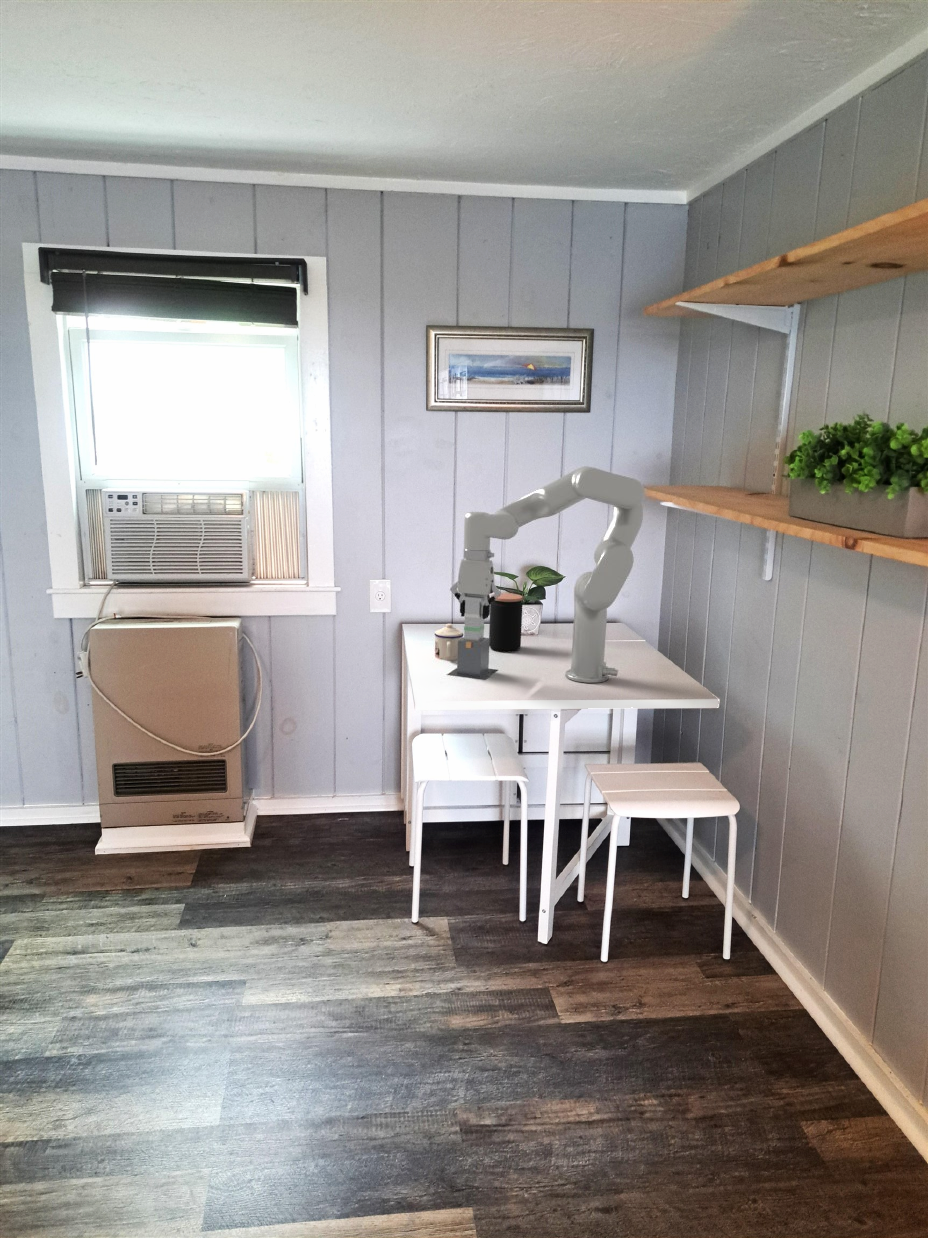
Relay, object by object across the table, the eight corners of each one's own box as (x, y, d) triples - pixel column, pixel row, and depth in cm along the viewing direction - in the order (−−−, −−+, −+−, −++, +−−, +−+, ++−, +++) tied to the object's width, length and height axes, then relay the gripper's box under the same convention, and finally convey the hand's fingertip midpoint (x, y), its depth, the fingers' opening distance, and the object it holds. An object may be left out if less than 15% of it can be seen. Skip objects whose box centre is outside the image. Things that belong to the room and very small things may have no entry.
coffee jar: (521, 645, 286) (523, 593, 283) (519, 653, 276) (522, 599, 272) (489, 644, 287) (491, 592, 284) (487, 651, 277) (489, 598, 273)
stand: (498, 673, 252) (499, 637, 249) (485, 684, 241) (486, 646, 238) (461, 668, 256) (462, 633, 253) (446, 678, 245) (447, 641, 242)
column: (486, 651, 248) (488, 595, 245) (479, 656, 243) (481, 598, 239) (467, 649, 250) (469, 593, 247) (460, 653, 245) (461, 596, 241)
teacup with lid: (434, 656, 269) (435, 620, 267) (462, 657, 270) (463, 621, 267) (433, 666, 258) (434, 629, 255) (463, 667, 258) (464, 630, 255)
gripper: (509, 556, 241) (506, 617, 245) (453, 551, 247) (451, 611, 251) (500, 559, 234) (498, 622, 238) (443, 554, 240) (442, 616, 244)
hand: (474, 616), depth 244 cm, fingers open, 6 cm apart
